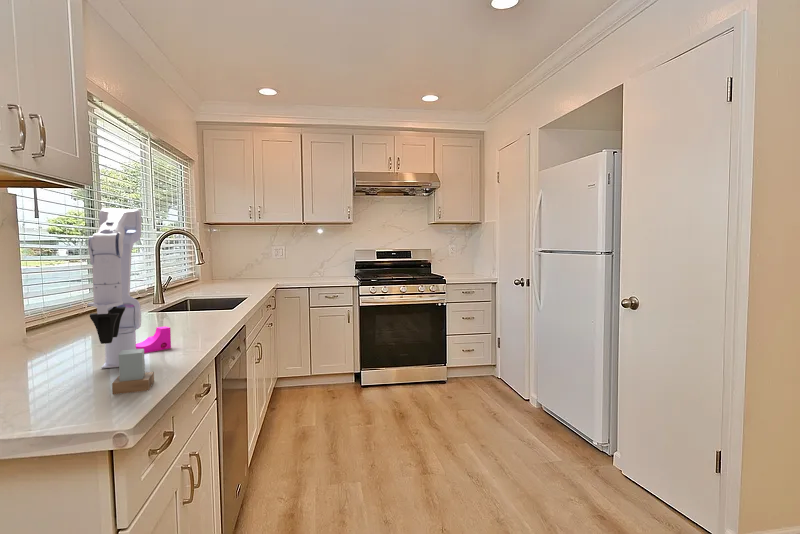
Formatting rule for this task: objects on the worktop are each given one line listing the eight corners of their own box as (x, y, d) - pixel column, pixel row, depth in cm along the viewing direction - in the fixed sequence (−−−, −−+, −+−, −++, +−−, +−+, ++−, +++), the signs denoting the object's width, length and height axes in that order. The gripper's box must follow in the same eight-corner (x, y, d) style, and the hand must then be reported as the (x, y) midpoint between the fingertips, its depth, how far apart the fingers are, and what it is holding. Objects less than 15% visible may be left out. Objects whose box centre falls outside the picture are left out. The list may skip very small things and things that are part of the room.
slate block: (122, 376, 105) (121, 350, 105) (144, 373, 107) (144, 348, 106) (119, 381, 101) (118, 354, 100) (142, 379, 103) (141, 352, 102)
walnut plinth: (120, 387, 106) (120, 374, 106) (154, 384, 109) (153, 371, 108) (112, 396, 100) (112, 383, 100) (148, 393, 102) (148, 379, 102)
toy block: (162, 348, 146) (162, 325, 146) (171, 351, 142) (170, 327, 142) (109, 357, 135) (108, 332, 134) (116, 360, 131) (115, 334, 130)
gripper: (94, 282, 114) (96, 336, 115) (80, 286, 101) (82, 347, 101) (126, 281, 117) (128, 333, 117) (117, 285, 104) (119, 344, 104)
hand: (109, 340), depth 110 cm, fingers open, 7 cm apart
